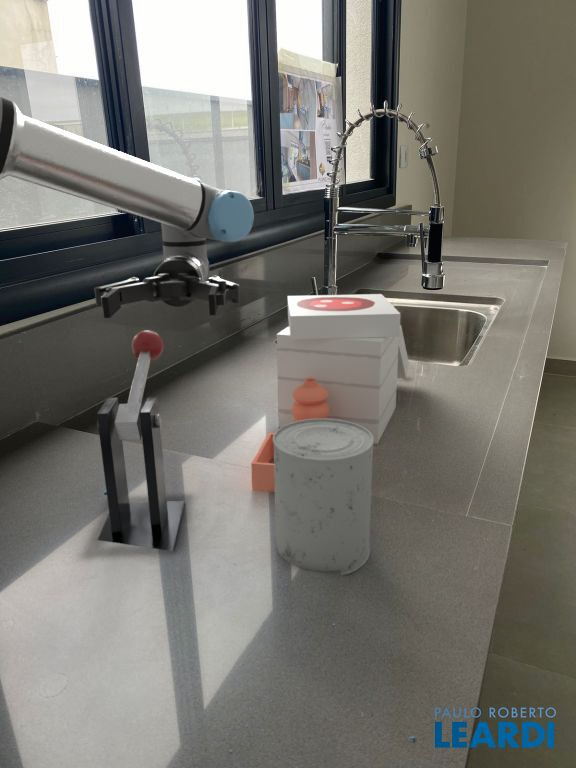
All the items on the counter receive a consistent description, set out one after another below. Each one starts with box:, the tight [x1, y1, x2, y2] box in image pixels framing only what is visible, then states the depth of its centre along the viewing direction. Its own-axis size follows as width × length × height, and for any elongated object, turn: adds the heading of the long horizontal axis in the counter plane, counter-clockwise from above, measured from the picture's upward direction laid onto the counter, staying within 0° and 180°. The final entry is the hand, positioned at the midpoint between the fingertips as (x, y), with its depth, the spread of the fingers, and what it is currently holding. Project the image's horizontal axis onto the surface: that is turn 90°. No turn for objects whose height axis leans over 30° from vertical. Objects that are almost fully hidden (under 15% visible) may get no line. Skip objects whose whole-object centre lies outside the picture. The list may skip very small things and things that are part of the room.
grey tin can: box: [273, 418, 375, 577], centre depth 59 cm, size 10×10×12 cm
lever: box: [114, 329, 164, 442], centre depth 65 cm, size 16×4×4 cm, turn 2°
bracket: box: [96, 396, 186, 552], centre depth 61 cm, size 10×8×15 cm
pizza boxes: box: [276, 293, 410, 445], centre depth 96 cm, size 19×30×18 cm, turn 161°
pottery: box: [250, 378, 330, 493], centre depth 77 cm, size 18×10×10 cm, turn 169°
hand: (159, 306), depth 78 cm, fingers open, 13 cm apart
